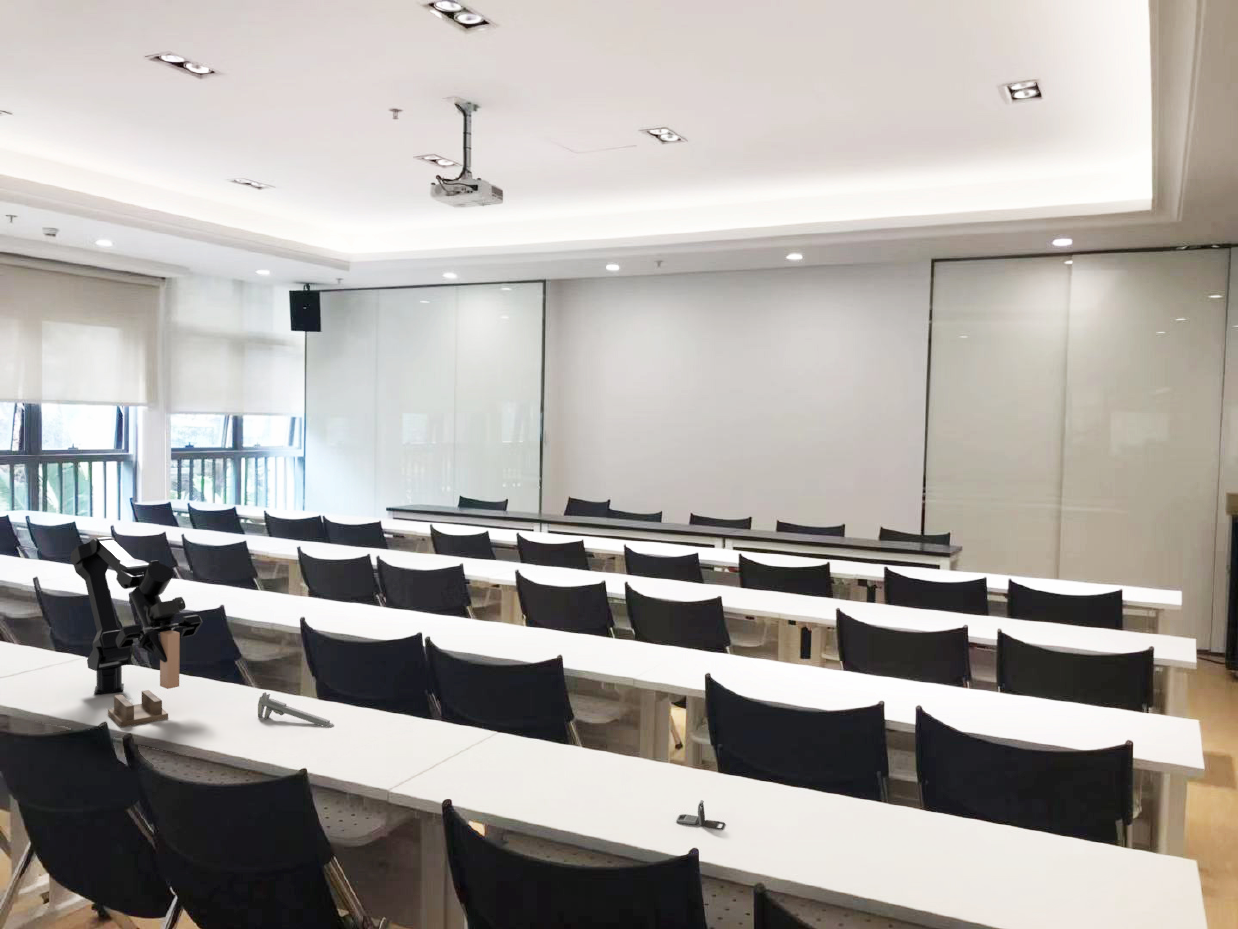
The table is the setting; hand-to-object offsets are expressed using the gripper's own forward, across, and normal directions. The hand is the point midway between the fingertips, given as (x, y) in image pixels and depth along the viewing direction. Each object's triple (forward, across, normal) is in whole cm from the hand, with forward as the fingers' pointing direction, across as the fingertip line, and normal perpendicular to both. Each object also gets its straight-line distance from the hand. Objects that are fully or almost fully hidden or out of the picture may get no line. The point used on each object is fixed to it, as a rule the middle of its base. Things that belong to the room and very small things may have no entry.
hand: (172, 660), depth 219 cm
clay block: (+4, 0, +6) cm, 7 cm away
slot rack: (+6, -6, +13) cm, 15 cm away
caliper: (+28, +16, -9) cm, 33 cm away
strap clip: (+100, +29, -83) cm, 133 cm away
